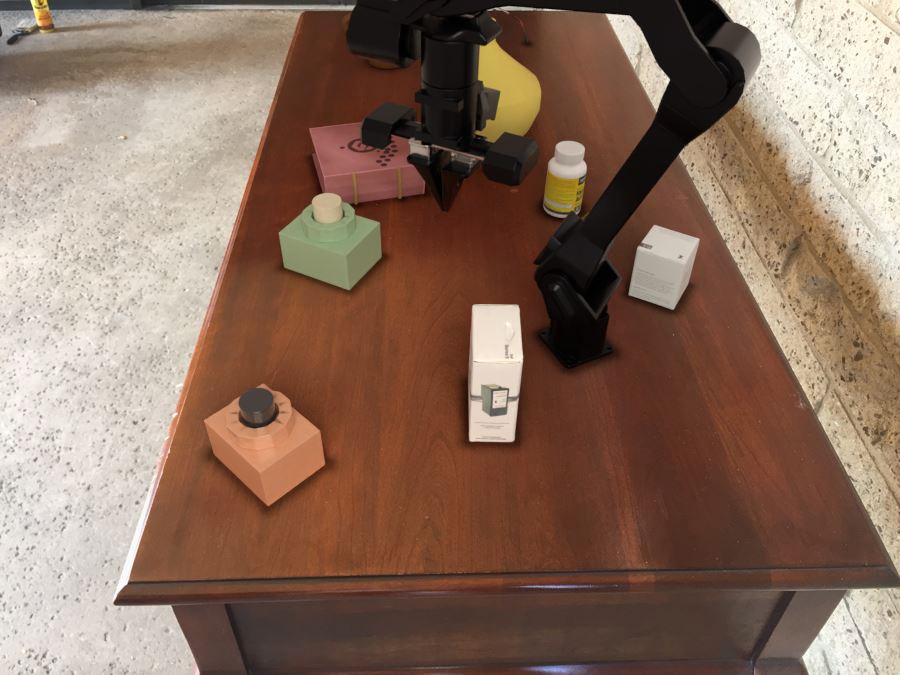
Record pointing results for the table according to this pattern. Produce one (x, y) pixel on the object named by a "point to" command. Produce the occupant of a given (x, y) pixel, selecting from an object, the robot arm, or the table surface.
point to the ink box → (494, 372)
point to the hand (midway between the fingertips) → (446, 209)
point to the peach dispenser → (267, 448)
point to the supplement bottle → (565, 180)
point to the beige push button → (327, 208)
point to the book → (363, 166)
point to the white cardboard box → (663, 266)
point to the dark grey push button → (257, 407)
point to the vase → (508, 92)
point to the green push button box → (331, 247)
